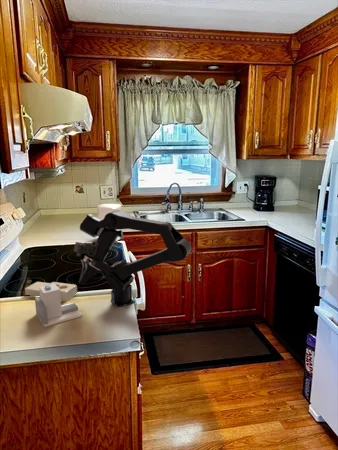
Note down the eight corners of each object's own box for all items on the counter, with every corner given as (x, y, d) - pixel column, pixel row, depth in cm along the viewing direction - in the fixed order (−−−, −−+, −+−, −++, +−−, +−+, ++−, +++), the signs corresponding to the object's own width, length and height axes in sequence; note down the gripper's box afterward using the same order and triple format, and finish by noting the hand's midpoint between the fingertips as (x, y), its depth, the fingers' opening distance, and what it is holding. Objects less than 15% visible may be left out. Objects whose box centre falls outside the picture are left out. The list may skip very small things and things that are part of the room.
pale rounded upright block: (117, 241, 202) (116, 205, 197) (94, 241, 204) (92, 205, 199) (123, 235, 217) (122, 202, 212) (102, 235, 218) (100, 201, 214)
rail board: (71, 305, 119) (70, 289, 118) (81, 316, 111) (80, 299, 110) (36, 314, 112) (34, 297, 111) (44, 326, 104) (42, 308, 103)
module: (56, 309, 114) (54, 281, 112) (61, 315, 109) (59, 287, 107) (41, 313, 111) (39, 284, 109) (46, 319, 107) (43, 290, 104)
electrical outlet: (37, 279, 133) (77, 284, 128) (38, 289, 134) (77, 294, 129) (24, 286, 126) (66, 292, 121) (25, 296, 127) (66, 302, 122)
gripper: (76, 228, 120) (52, 266, 118) (95, 236, 105) (68, 281, 102) (100, 242, 126) (78, 279, 124) (122, 253, 111) (97, 295, 108)
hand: (80, 283), depth 114 cm, fingers closed
